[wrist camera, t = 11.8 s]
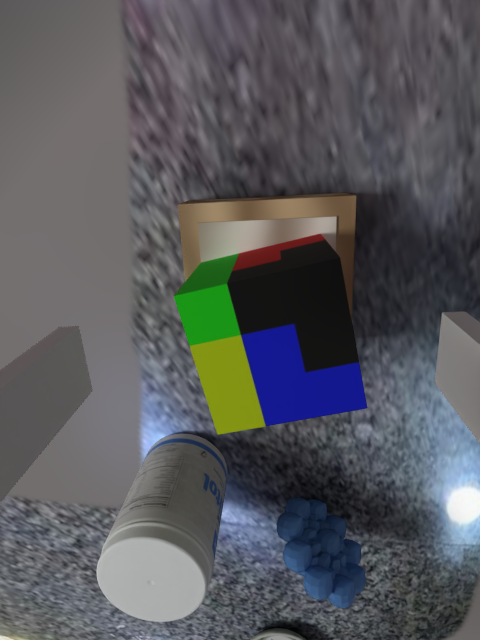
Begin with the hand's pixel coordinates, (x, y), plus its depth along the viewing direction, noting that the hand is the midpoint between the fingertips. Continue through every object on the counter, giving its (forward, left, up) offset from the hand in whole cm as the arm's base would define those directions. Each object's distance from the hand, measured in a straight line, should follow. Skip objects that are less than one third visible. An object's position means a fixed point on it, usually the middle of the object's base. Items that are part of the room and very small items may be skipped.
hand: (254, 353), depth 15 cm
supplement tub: (+10, +25, -25) cm, 36 cm away
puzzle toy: (-1, +4, -20) cm, 20 cm away
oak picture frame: (0, +3, -25) cm, 25 cm away
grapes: (-4, +31, -25) cm, 40 cm away
